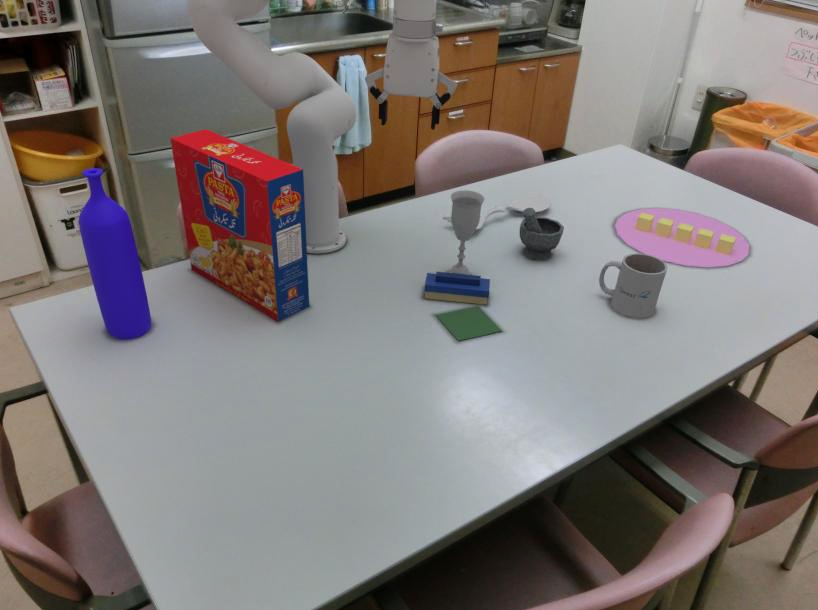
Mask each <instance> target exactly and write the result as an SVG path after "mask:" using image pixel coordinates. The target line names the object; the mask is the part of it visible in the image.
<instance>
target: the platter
mask: <svg viewBox="0 0 818 610" xmlns="http://www.w3.org/2000/svg"><path fill="white" fill-rule="evenodd" d="M614 228H615V231H616V235H617V236H618V237H619V238H620V239H621V241H623V242H624V243H625V244H626V245H627V246H629V247H630V248H632V249H634V250H636V251H637V252H639V253H640V254H647V255H651V256H654V257H657V258H659V259H661V260H662V261H664V262H665V263H669V264H675V265H679V266H683V267H693V268H705V269H707V268H721V267H722V268H723V267H724V268H725V267H730V266H733V265H735V264H738V263H741V262H742V261H744V260H745V259H746V258H747V257H748V256H749V254H750V244H749V243H748V241H747V239H746V238H745V237H744V235H742V233H739V231H737V230H736V229H735V228H733V227H731V226H730V225H728V224H725V223H723V222H721V221H719V220H717V219H715V218H712V217H708V216H706V215H702V214H699V213H695V212H690V211H685V210H680V209H672V208H671V209H670V208H661V207H656V208H640V209H637V210H632V211H628V212H626V213H624V214H622V215H621V216H620V217H618V218H617V220H616V223H615V224H614Z"/></svg>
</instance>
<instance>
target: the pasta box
mask: <svg viewBox="0 0 818 610" xmlns="http://www.w3.org/2000/svg"><path fill="white" fill-rule="evenodd" d="M170 146H171V151H172V157H173V164H174V170H175V176H176V177H175V178H176V182H177V189H178V195H179V202H180V206H181V214H182V220H183V225H184V232H185V237H186V238H185V239H186V243H187V250H188V256H189V263H190V269H191V271H192V272H194V273H195V274H197V275H199V276H201V277H202V278H203V279H205V280H207V281H209V282H210V283H212V284H214V286H215V285H216V286H217V287H218V288H220V289H222V290H223V291H226V292H227V293H229V294H231V295H232V296H234V297H235V298H237V299H238V300H240V301H242V302H244V303H245V304H247V305H249V306H251V307H252V308H253V309H255V310H257V311H259V312H261V313H262V314H264V315H266V316H267V317H269V318H271V319H272V320H274V321H276V322H277V323H279V322H281V321H283V320H285V319H287V318H290V317H292V316H293V315H296V314H297V313H300V312H301V311H303V310H305V309H307V308H309V307H310V290H309V268H308V253H307V243H306V221H305V199H304V177H303V169H301V168H299V167H296V166H294V165H293V164H291V163H288V162H286V161H284V160H282V159H279V158H277V157H274V156H272V155H270V154H267V153H264V152H262V151H260V150H257V149H255V148H253V147H250V146H248V145H245V144H244V143H241V142H238V141H237V140H233V139H231V138H229V137H226V136H223V135H222V134H219V133H216V132H214V131H212V130H209V129H207V128H206V129H205V128H204V129H201V130H197V131H194V132H189V133H185V134H181V135H177V136H174V137H173V136H172V137H170Z"/></svg>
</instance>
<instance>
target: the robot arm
mask: <svg viewBox="0 0 818 610" xmlns="http://www.w3.org/2000/svg"><path fill="white" fill-rule="evenodd" d="M437 1H438V0H393V11H392V13H393V14H392V33H389V35H388V38H387V43H386V50H385V57H384V66H383V67H382V68H380V69H377V70H375V71H373V72H371V73H369V74H367V75H366V76H365V77H364V81H365V83H366V86H367V88H368V89H369V93H370V94H371V95H372V96H373V98H374V99H375V100H376V102H377V104H378V120H381V122H380V124H381V126H385V125H387V121H388V111H389V110H388V108H389V107H388V106H389V101H388V100H387V99H388V97H389V96H390V95H394V96H402V97H403V96H404V97H414V98H429V100H430V102H431V103H432V104H433V106H432V109H431V120H430V121H431V122H430V129H431V130H433V131H435V130H436V125H440V117H441V108H442V107H443V106H444V105H445V104H446V103H447V102H448V101H450V99H451V98H452V96H453V94H454V93H455V92H456V89H457V87H458V83H457V82H456V81H454V80H453V79H451V78H450V77H448V76H447V75H446V74H444V73H442V72H441V71H440V42H439V41H440V40H439V37H438V36H435V35H436V34H437V33H443V29H444V24H443V23H439V22H438V20H436V17H437V15H436V13H437ZM270 2H271V0H186V7H187V8H186V9H187V15H188V19H189V22H190V25H191V28H192V29H193V31H194V33H195V35H196V37H197V38H198V39H199V41H200V42H201V43H202V45H203V46H204V47H205V48H206V49H207V50H208V51H209V52H211V53H212V55H213V56H215V57H216V58H217V59H219V60H220V61H221V63H223V64H224V65H225V66H227V68H229V70H230V71H231V72H232V73H233V74H235V75H236V77H237V78H238V79H239V80H240V81H241V82H242V83H243V84H244V85H245V86H246V87H247V88H248V89H249V90H250V91H251V92H252V93H253V94H254V95H255V96H256V97H257V98H258V99H259V100H260V101H261V102H262V103H264V104H265V106H267V107H268V108H270V109H272V110H283V109H287V108H289V107H292V106H294V105H295V104H296V105H295V106H294V107H293V108H292V109H291V110H290V112H289V114H288V116H287V120H286V132H287V137H288V141H289V145H290V150H291V157H292V165H294V166H296V167H299V168H301V169H303V177H304V199H305V221H306V243H307V254H314V255H315V254H316V255H317V254H329V253H333V252H336V251H338V250H340V249H342V248H343V247H344V246H345V244H346V243H347V237H346V236H347V235H346V233H344V232H343V231H342V230H341V229H340V220H339V219H340V216H339V213H340V212H339V210H340V208H339V165H338V158H337V156H336V154H335V150H334V147H333V143H334V141H336V140H337V139H338V138H340V137H342V136H343V135H346V134H347V133H348V132H349V131H351V130H352V129H353V127H354V125H355V124H356V121H357V109H356V106H355V103H354V101H353V99H352V98H351V96H350V95H349V94H348V92H347V91H346V90H345V89H344V88H342V87H341V85H340V84H339V83H338V82H337V81H336V80H335V79H334V78H333V77H332V76H331V75H330V74H329V73H328V72H327V71H326V70H325V69H324V68H323V67H322V66H321V65H320V64H319V63H318V62H317V61H316V60H315V59H313V58H312V57H310V56H309V55H307V54H304V53H302V52H298V51H297V52H296V51H295V52H294V51H293V52H287V53H285V54H282V55H279V54H276V53H275V52H274V51H272V49H270V48H269V47H268V46H267V45H266V44H265V43H264V42H263V40H262V39H260V38H259V36H257V35H256V34H254V33H253V32H251V31H250V30H248V29H246V28H244V27H243V26H241V25H240V24H238V23H237V22H238V21H241V20H246V19H250V18H253V17H255V16H256V15H258V14H259V13H261V12H262V11H263V10H264V9H265V7H267V5H268V4H269V3H270ZM381 78H383V84H382V85H383V90H382V91H381V90H380V89H379V87H378V86H377V85H376V82H375V81H376V80H378V79H381ZM439 83H440V84H442V85H443V86H445V87H446V88H447V89H446V91H445V92H443V94H442V95H440V94H439V93H438V91H437V90H438V89H439ZM297 103H298V104H297Z"/></svg>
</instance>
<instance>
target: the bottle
mask: <svg viewBox="0 0 818 610" xmlns="http://www.w3.org/2000/svg"><path fill="white" fill-rule="evenodd" d="M81 174H82V176H83V177H85V178H86V179H87V182H88V186H89V192H90V194H89V198H88V200H87V201H86V202H85V204H84V206H83V207H82V209H81V211H80V213H79V216H78V227H79V233H80V237H81V241H82V245H83V250H84V255H85V258H86V263H87V265H88V269H89V274H90V277H91V281H92V285H93V288H94V292H95V296H96V299H97V303H98V307H99V310H100V314H101V318H102V320H103V324H104V327H105V329H106V331H107V333H108V335H110V336H111V337H112V338H114V339H119V340H132V339H136V338H140V337H142V336H144V335H145V334H147V333H148V332H149V331H150V329H151V327H152V316H151V310H150V305H149V300H148V294H147V290H146V285H145V280H144V275H143V270H142V265H141V261H140V257H139V256H140V255H139V252H138V247H137V243H136V239H135V234H134V231H133V227H132V223H131V220H130V217H129V214H128V212H127V210H125V209H124V207H123V206H122V205H120V204H119V203H118V202H116V200H114V199H112V198H111V197H110V196H108V195H107V193H106V192H105V190H104V187H103V182H102V176H103V175H104V170H102V169H101V168H96V167H94V168H93V167H92V168H87V169H84V170H83V171H82V173H81Z"/></svg>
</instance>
